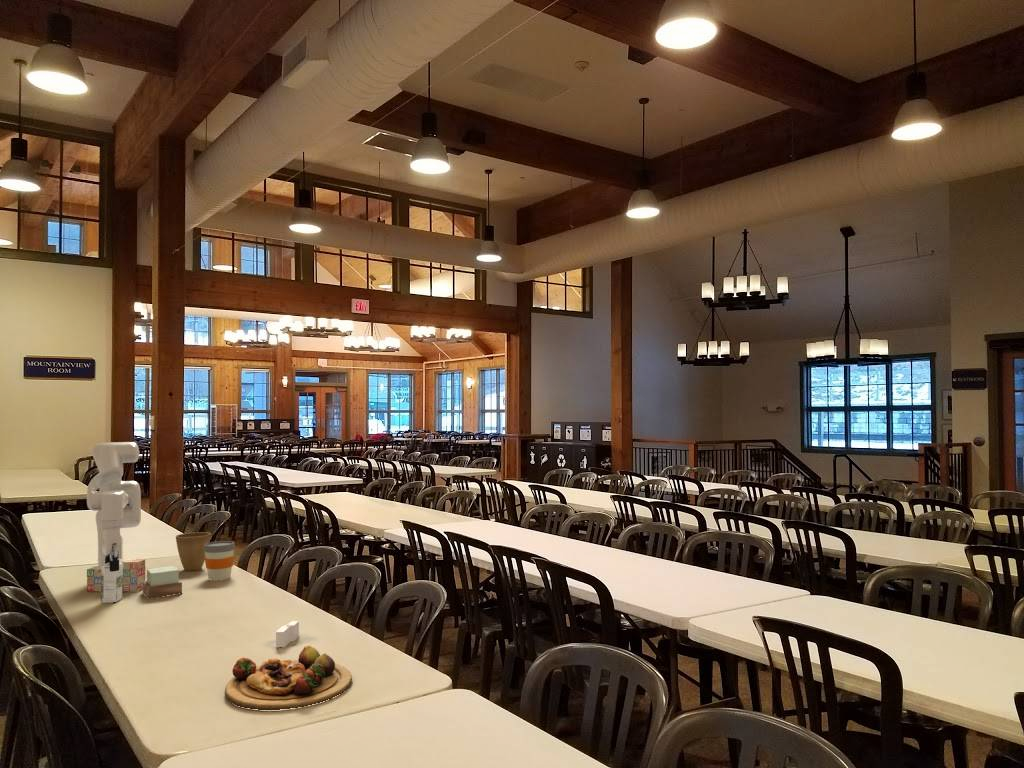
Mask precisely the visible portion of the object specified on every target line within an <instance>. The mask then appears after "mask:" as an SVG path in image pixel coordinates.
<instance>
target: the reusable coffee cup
mask: <svg viewBox="0 0 1024 768" xmlns="http://www.w3.org/2000/svg"><path fill="white" fill-rule="evenodd" d="M235 545H236V544H235V542H234V541H232V540H231V541H230V540H224V541H221V540H220V541H211V542H209V543H207V544H205V547H204V552H205V561H204V564H205V568H206V571H207V577H208V578H209V579H211V580H210V581H213V580H217V581H222V580H221V579H225V580H228V579H227V578H229V579H231V577H232V568H233V566H234V561H235V559H234V558H235V555H234V553H235V552H234V551H235V549H236V547H235ZM209 579H208V580H209Z"/></svg>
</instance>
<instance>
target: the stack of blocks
mask: <svg viewBox="0 0 1024 768" xmlns="http://www.w3.org/2000/svg"><path fill="white" fill-rule="evenodd" d="M119 562H122V563H123V591H138V590H140V591H142V590H143V582H145V581H146V558H123V559H119ZM101 571H102V566H98V565H95V566H92V567H90V568H87V569H86V592H87V591H101ZM141 589H142V590H141ZM138 592H139V591H138Z"/></svg>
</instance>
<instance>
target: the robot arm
mask: <svg viewBox="0 0 1024 768" xmlns="http://www.w3.org/2000/svg"><path fill="white" fill-rule="evenodd" d="M91 451H92V457H93V460H94V464H96V467H97V469H98V473H97V474H96V475H95V476H94V477H93V478H92V479H90V481H89V483H88V485H87V488H86V489H87V490H86V506H87V508H88V509H89V510H90V511H94V512H95V511H96V513H95V524H96V530H97V566H103V565H105V564H107V563H110V572H112V571H119V559H124V556H123V555H124V554H123V553H124V551H123V550H124V549H123V546H124V545H123V543H124V542H123V541H124V539H123V537H122V535H121V529H127V528H135V527H138V526H140V524H141V521H142V509H141V508H142V505H141V504H142V503H141V502H142V500H141V499H142V498H141V497H142V493H141V487H140V483H139V482H137V481H135V480H122V477H123V475H124V464H127V463H128V464H129V463H130V464H131V463H136V462H138V460H139V456H140V448H139V446H138V444H137V442H135V441H122V442H121V441H118V442H116V441H115V442H113V441H112V442H100V443H97V444H94V445H93V447H92V450H91ZM98 490H99V491H98Z"/></svg>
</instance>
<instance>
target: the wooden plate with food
mask: <svg viewBox="0 0 1024 768" xmlns="http://www.w3.org/2000/svg"><path fill="white" fill-rule="evenodd" d="M232 675H233V677H232V678H231V679H230V680H229V681H228V682H227V683H226V685H225V689H224V696H225V698H226V700H227V699H228V700H229V701H230V702H231V703H230V702H229V701H228V700H227V701H228V702H229V703H230V704H232V703H233V704H235V705H237V706H240V707H244V708H250V709H258V710H280V709H290V708H298V707H304V706H308V705H312V704H316V703H320V702H323V701H326V700H328V699H331V698H333V697H335V696H337V695H339V694H341V693H343V692H344V691H345V692H347V690H349V688H350V687H351V685H352V683H353V675H352V674H351V672H350V670H349V669H348V668H346V667H345V666H344V665H341V664H339V663H336V662H335V661H334V659H333V658H332V657H331V656H330V655H329V654H326V652H325V653H322V654H320V652H319V650H317V649H316V648H315V647H313V646H312V645H305V646H304V647H303V649H302V650H301V651H300V653H299V655H298V658H297V659H284V660H280V659H278V658H269V659H268V660H267V661H266V660H265V661H263V663H261V664H260V665H257V664H256V662H254V660H252V659H250V658H248V657H240V658H239V659H237V660H236V662H235V664H234V665H233V668H232ZM345 692H344V693H345ZM344 693H343V694H344ZM341 695H342V694H341ZM339 696H340V695H339ZM233 704H232V705H233ZM235 705H234V706H235ZM237 706H236V707H237ZM240 707H239V708H240Z"/></svg>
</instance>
